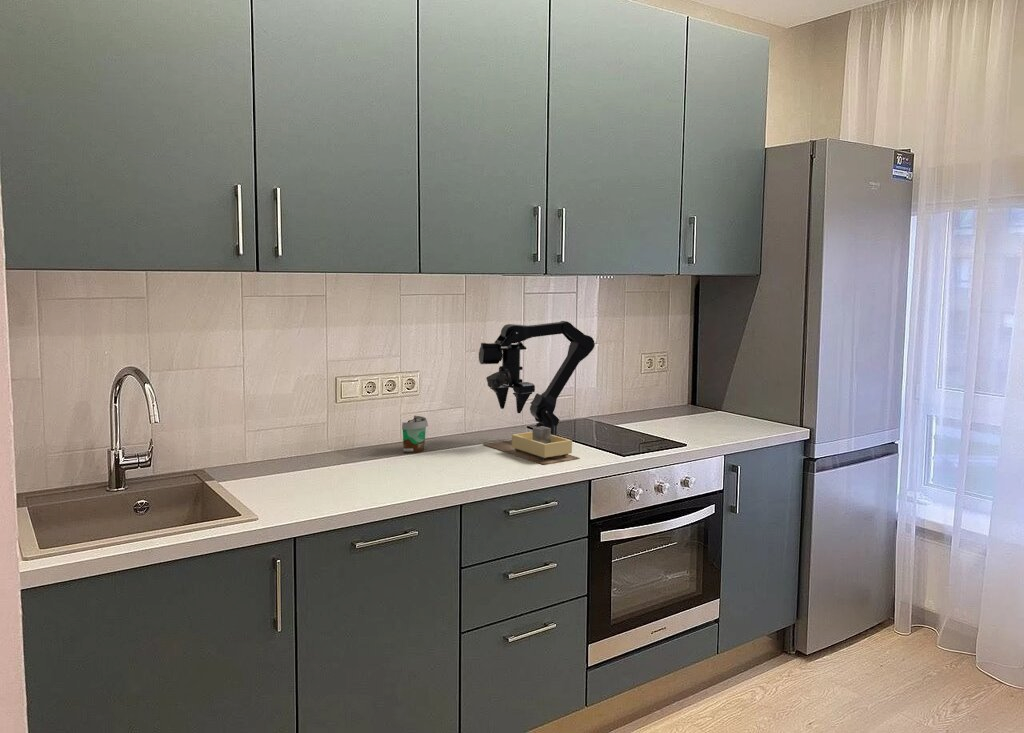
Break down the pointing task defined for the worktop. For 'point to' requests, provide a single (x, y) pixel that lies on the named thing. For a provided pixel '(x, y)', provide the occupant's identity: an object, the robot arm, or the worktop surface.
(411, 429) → the food container
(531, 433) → the wooden tray
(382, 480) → the worktop surface
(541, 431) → the charcoal block
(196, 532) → the worktop surface
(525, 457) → the brown board
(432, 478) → the worktop surface
